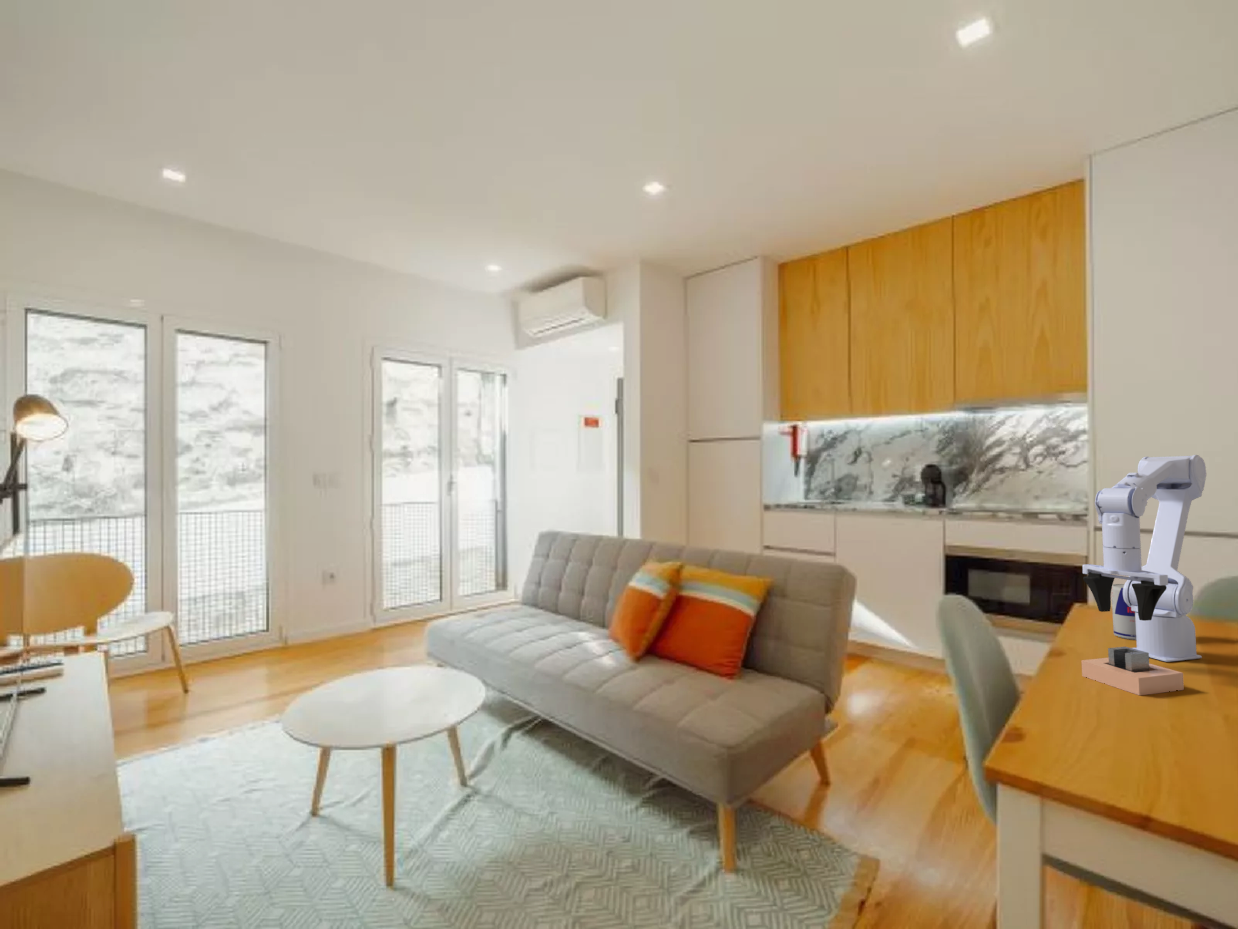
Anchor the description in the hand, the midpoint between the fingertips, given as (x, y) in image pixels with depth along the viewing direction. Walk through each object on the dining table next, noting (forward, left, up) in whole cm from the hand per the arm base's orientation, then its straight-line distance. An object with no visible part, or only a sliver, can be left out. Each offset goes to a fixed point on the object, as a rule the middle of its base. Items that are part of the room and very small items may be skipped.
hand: (1124, 615), depth 112 cm
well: (+8, +6, -10) cm, 14 cm away
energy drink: (-22, -16, -11) cm, 30 cm away
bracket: (+8, +6, -10) cm, 15 cm away
